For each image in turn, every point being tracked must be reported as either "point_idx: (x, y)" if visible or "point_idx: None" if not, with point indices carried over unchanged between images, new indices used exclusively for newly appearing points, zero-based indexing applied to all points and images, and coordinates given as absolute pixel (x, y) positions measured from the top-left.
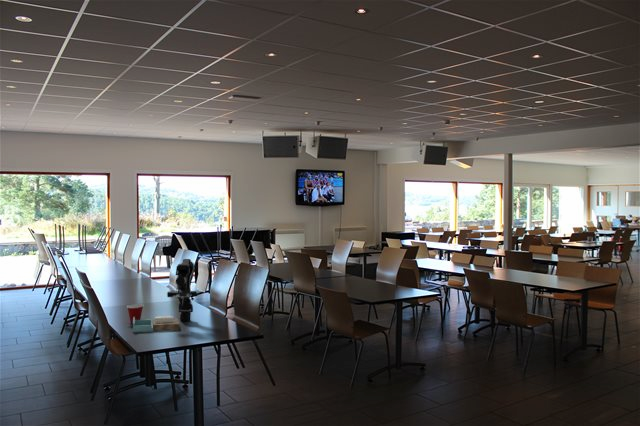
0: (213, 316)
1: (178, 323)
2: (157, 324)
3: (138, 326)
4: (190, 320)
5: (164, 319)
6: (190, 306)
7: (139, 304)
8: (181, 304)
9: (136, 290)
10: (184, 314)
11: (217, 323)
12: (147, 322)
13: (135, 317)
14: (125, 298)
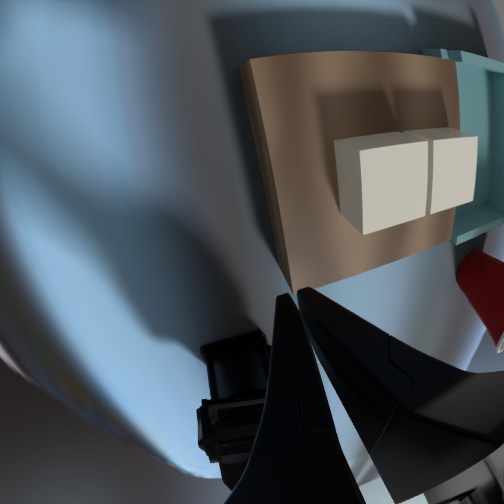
0: (120, 422)
1: (262, 72)
2: (435, 66)
3: (501, 63)
4: (202, 353)
5: (416, 137)
6: (211, 435)
7: (500, 348)
8: (327, 319)
9: (363, 477)
10: (250, 377)
11: (19, 311)
12: (458, 223)
13: (496, 263)
14: None
